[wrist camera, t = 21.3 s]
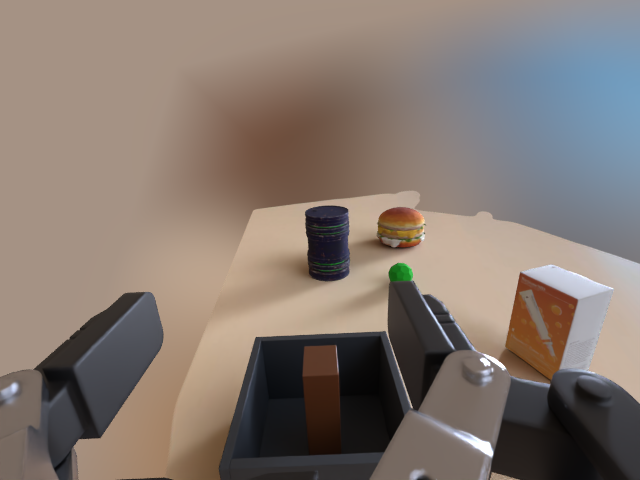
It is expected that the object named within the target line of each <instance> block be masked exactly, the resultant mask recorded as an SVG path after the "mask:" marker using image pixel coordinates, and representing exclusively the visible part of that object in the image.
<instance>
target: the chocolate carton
mask: <svg viewBox="0 0 640 480" xmlns="http://www.w3.org/2000/svg"><path fill="white" fill-rule="evenodd" d="M302 377H303V389H304V401H305V413H306V425H307V437H308V449H309V455H333V454H341V426H340V396H339V371H338V360H337V348H336V345H328V346H305V347H304V358H303V375H302Z"/></svg>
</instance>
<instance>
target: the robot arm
mask: <svg viewBox="0 0 640 480" xmlns="http://www.w3.org/2000/svg"><path fill="white" fill-rule="evenodd" d="M388 332H389V338H390V341H391V344H392V347H393V350H394V353H395V356H396V359H397V362H398V365H399V368H400V371H401V374H402V377H403V380H404V383H405V386H406V389H407V391H408V394H409V397H410V400H411V403H412V406H413V409H412V408H411V409H410V410H409V411H408V412H407V413H406V415H405V417H404V418H403V420H402V422H401V424H400V425H399V427H398V429H397V431H396V433H395V434H394V436H393V438H392V440H391V442H390V443H389V445H388V447H387V449H386V451H385V452H384V454H383V456H382V458H381V460H380V461H379V463H378V465H377V467H376V469H375V470H374V472H373V474H372V476H371V478H370V479H369V480H490V478H491V473H492V472H494V473H498V474H501V475H505V476H509V477H512V478H516V479H519V480H640V404H639V403H638V402H637V401H636V400H635V399H634V398H633V397H632V396H631V395H630V394H629V393H628V392H626V391H625V390H624V389H623V388H622V387H620V386H619V385H617V384H616V383H614V382H613V381H611V380H609V379H607V378H605V377H603V376H601V375H598V374H596V373H593V372H590V371H586V370H582V369H576V368H565V369H560V370H558V371H556V372H555V373H554V374H553V376H552V380H551V384H546V383H541V382H535V381H530V380H525V379H520V378H516V377H512V376H510V375H509V372H508V371H507V369H506V368H505V367H504V366H503V365H502V364H501V363H500V362H498V361H497V360H496V359H494V358H492V357H490V356H488V355H486V354H483V353H480V352H477V351H476V350H475V348H474V347H473V346H472V344H471V343H470V341H469V340H468V338H467V337H466V335H465V334H464V333H463V331H462V330H461V328H460V327H459V325H458V324H457V323H455V320H454V318H453V317H452V315H450V313H449V311H448V310H447V308H446V307H445V305H444V304H443V303H442V302H441V301H439V300H438V299H436V298H435V297H433V296H432V295H422V294H421V292H420V291H419V289H418V288H417V286H416V284H415V283H414V281H392V282H390V284H389V299H388ZM162 343H163V329H162V325H161V321H160V317H159V314H158V309H157V305H156V301H155V298H154V296H153V294H152V293H150V292H136V293H125V294H123V295H122V296H121V297H120V298H119V299H118V300H117V301H116V302H115V303H113V304H112V305H111V306H110V307H109V308H108V309H106V310H105V311H103V312H101V313H100V314H98V315H96V316H94V317H93V318H91V319H90V320H89V321H88V322H87V323H85V325H83V326H82V327H81V328H80V330H78V331H76V332H75V333H74V334H73V335H72V336H71V337H70V339H69V340H66V341H65V342H64V343H63V344H62V345H61V346H59V347H58V348H57V349H56V350H55V351H54V352H53V353H51V354H50V355H49V356H48V357H47V358H46V359H45V360H44V361H42V362H41V363H40V364H39V365H38V366H37V367H36V368H35V369H33V370H21V371H17V372H13V373H10V374H7V375H4V376H2V377H0V480H78V466H77V455H76V452H75V449H74V447H73V446H74V445H75V444H76V442H77V441H78V439H91V438H101V436H102V435H103V433H104V432H105V430H106V429H107V428H108V426H109V424H110V423H111V422H112V420H113V419H114V417H115V415H116V414H117V413H118V411H119V409H120V408H121V407H122V405H123V404H124V402H125V401H126V399H127V398H128V396H129V395H130V393H131V392H132V390H133V389H134V387H135V386H136V384H137V383H138V382H139V380H140V379H141V377H142V376H143V374H144V373H145V371H146V370H147V368H148V367H149V365H150V364H151V362H152V361H153V359H154V358H155V356H156V355H157V353H158V352H159V350H160V349H161V346H162ZM122 480H123V479H122ZM124 480H172V479H168V478H147V479H124ZM248 480H319V477H318V471H305V472H282V473H267V474H264V475H261V476H257V477H254V478H251V479H248Z"/></svg>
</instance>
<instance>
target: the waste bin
mask: <svg viewBox="0 0 640 480" xmlns="http://www.w3.org/2000/svg"><path fill="white" fill-rule="evenodd" d="M328 345H336V348H337V360H338V371H339V396H340V426H341V454H333V455H309V449H308V437H307V425H306V413H305V401H304V389H303V377H302V375H303V358H304V347H305V346H328ZM410 409H411V407H410V404H409V401H408V398H407V395H406V392H405V388H404V385H403V382H402V379H401V376H400V373H399V370H398V367H397V364H396V361H395V358H394V355H393V352H392V349H391V346H390V343H389V340H388V337H387V334H386V331H383V332H361V333H339V334H317V335H295V336H272V337H256V338H255V342H254V345H253V349H252V352H251V356H250V359H249V363H248V366H247V370H246V374H245V377H244V381H243V384H242V388H241V391H240V395H239V398H238V402H237V405H236V409H235V413H234V416H233V420H232V423H231V427H230V430H229V434H228V437H227V441H226V444H225V448H224V451H223V455H222V459H221V462H220V466H219V474H220V478H221V480H248V479H251V478H254V477H257V476H261V475H264V474H267V473H282V472H305V471H318V477H319V480H369V479H370V478H371V476H372V474H373V472H374V470H375V469H376V467H377V465H378V463H379V461H380V460H381V458H382V456H383V454H384V452H385V451H386V449H387V447H388V445H389V443H390V442H391V440H392V438H393V436H394V434H395V433H396V431H397V429H398V427H399V425H400V424H401V422H402V420H403V418H404V417H405V415H406V413H407V412H408V411H409V410H410Z"/></svg>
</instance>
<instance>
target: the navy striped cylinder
mask: <svg viewBox="0 0 640 480" xmlns="http://www.w3.org/2000/svg"><path fill="white" fill-rule="evenodd" d="M305 216H306V223H305V225H306V235H307V237H308V248H309V250H308V254H307V256H308V265H309V274H310V276H311V277H312V278H314V279H317V280H321V281H335V280H340V279H342V278H345V277H346V276H347V275H348V274H349V263H350V257H349V255H350V252H349V249H348V235H349V221H348V220H349V217H348V209H347V208H344V207H340V206H319V207H314V208H310V209H308V210H306V211H305Z"/></svg>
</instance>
